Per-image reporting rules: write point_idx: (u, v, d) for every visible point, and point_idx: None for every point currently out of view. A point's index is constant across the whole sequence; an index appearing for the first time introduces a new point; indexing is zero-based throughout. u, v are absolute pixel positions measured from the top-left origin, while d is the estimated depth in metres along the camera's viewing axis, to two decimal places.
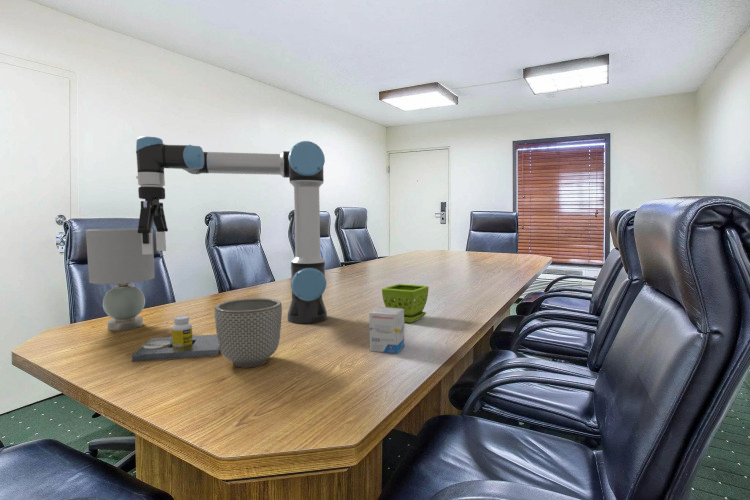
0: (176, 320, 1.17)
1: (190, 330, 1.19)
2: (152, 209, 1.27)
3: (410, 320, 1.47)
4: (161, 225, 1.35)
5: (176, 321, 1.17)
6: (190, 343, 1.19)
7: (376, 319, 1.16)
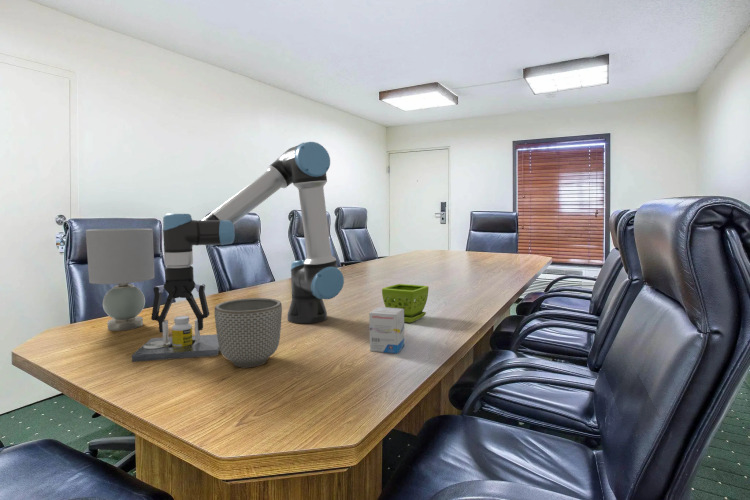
0: (176, 320, 1.17)
1: (190, 330, 1.19)
2: (169, 293, 1.17)
3: (410, 320, 1.47)
4: None
5: (176, 321, 1.17)
6: (190, 343, 1.19)
7: (376, 319, 1.16)
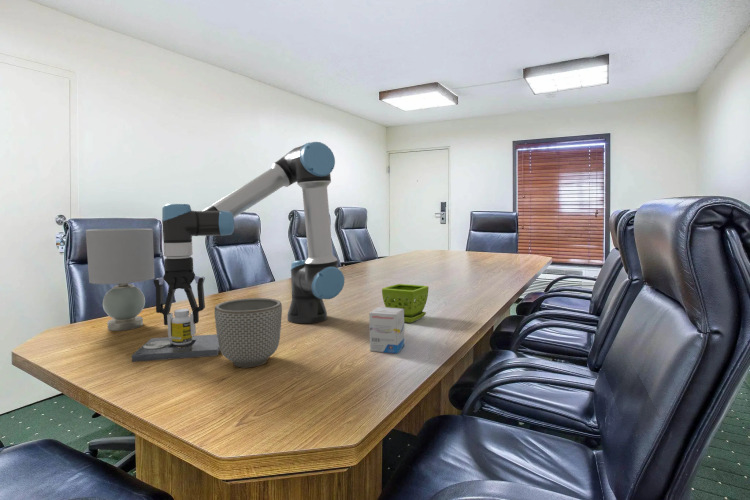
0: (176, 313, 1.17)
1: None
2: (169, 285, 1.16)
3: (410, 320, 1.47)
4: None
5: (176, 314, 1.17)
6: (190, 336, 1.18)
7: (376, 319, 1.16)
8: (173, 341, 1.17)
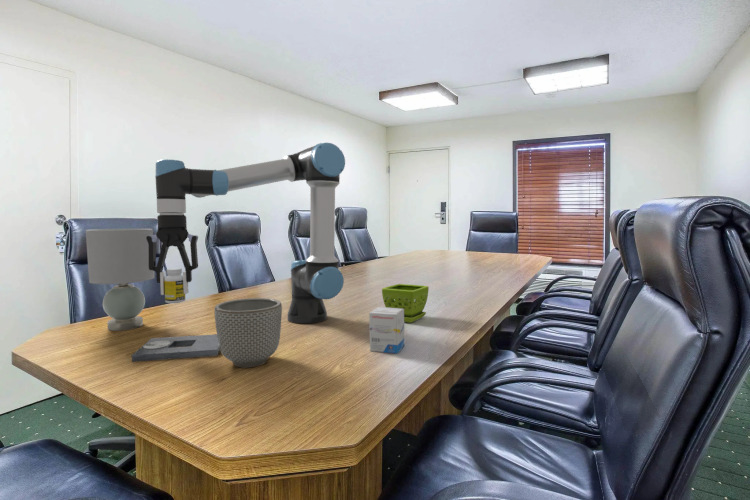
0: (168, 271, 1.16)
1: None
2: None
3: (410, 320, 1.47)
4: (183, 261, 1.17)
5: (168, 272, 1.16)
6: (183, 295, 1.18)
7: (376, 319, 1.16)
8: (166, 299, 1.16)
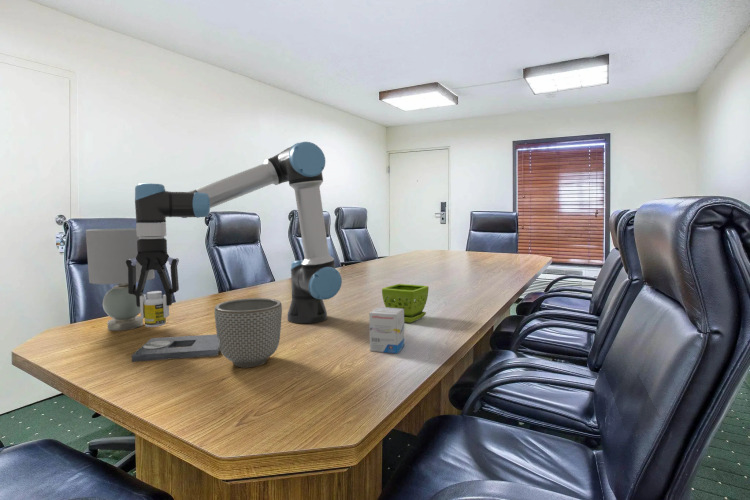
0: (148, 294, 1.15)
1: None
2: (142, 265, 1.15)
3: (410, 320, 1.47)
4: None
5: (148, 295, 1.15)
6: (163, 318, 1.17)
7: (376, 319, 1.16)
8: (146, 323, 1.15)
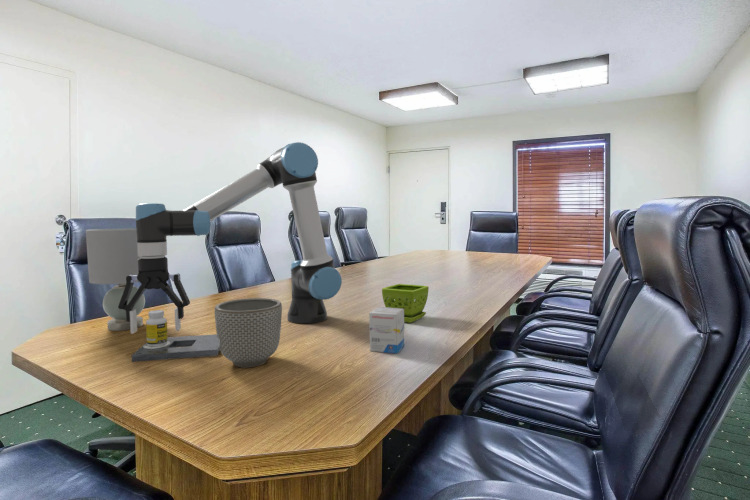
0: (150, 314, 1.16)
1: (165, 324, 1.17)
2: (141, 283, 1.15)
3: (410, 320, 1.47)
4: None
5: (150, 315, 1.16)
6: (165, 337, 1.18)
7: (376, 319, 1.16)
8: (147, 343, 1.16)
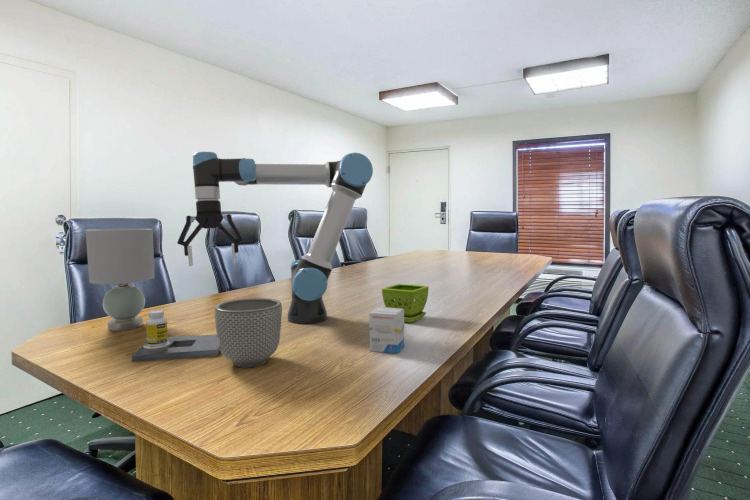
0: (150, 314, 1.16)
1: (165, 324, 1.17)
2: (199, 223, 1.31)
3: (410, 320, 1.47)
4: None
5: (150, 315, 1.16)
6: (165, 337, 1.18)
7: (376, 319, 1.16)
8: (147, 343, 1.16)
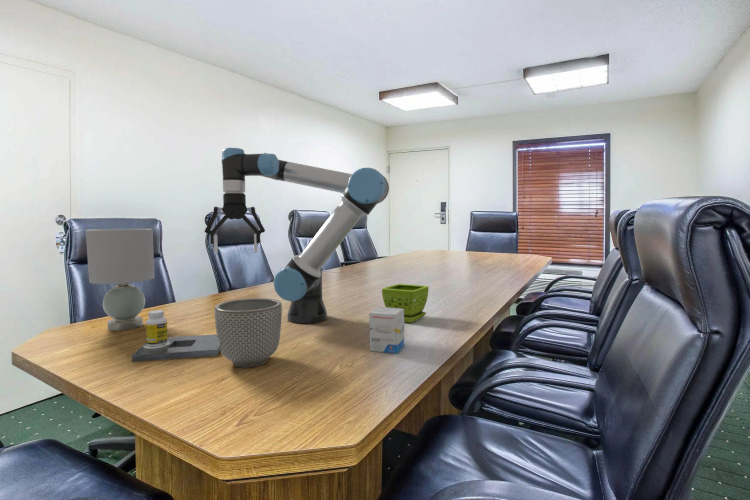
0: (150, 314, 1.16)
1: (165, 324, 1.17)
2: (225, 213, 1.41)
3: (410, 320, 1.47)
4: None
5: (150, 315, 1.16)
6: (165, 337, 1.18)
7: (376, 319, 1.16)
8: (147, 343, 1.16)
